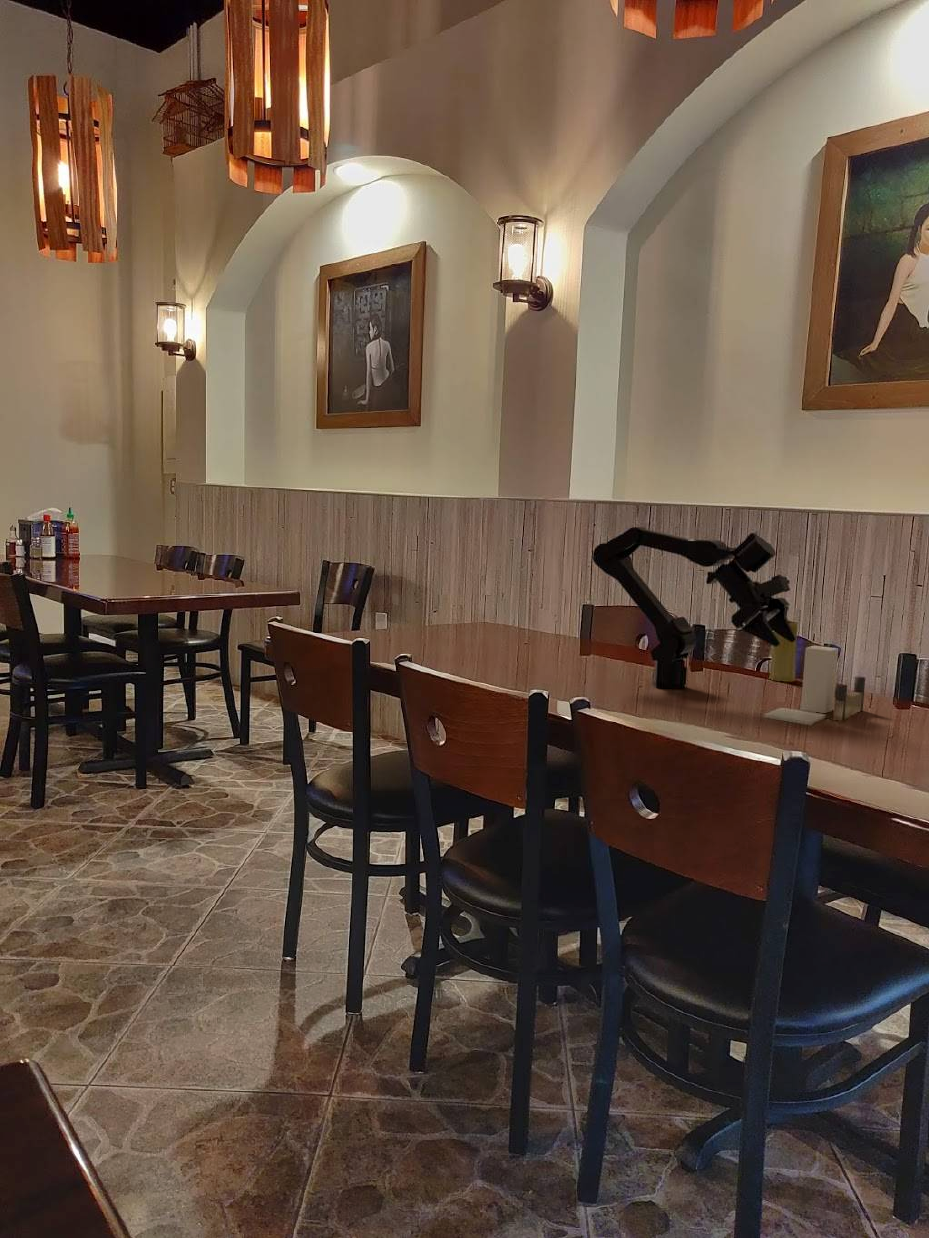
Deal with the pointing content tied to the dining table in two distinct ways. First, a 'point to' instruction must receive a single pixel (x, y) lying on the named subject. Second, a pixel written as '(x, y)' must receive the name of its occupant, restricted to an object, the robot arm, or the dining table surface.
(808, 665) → the beige tall rectangular block
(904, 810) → the dining table surface
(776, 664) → the vase
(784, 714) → the coaster
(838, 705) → the rack
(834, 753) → the dining table surface
